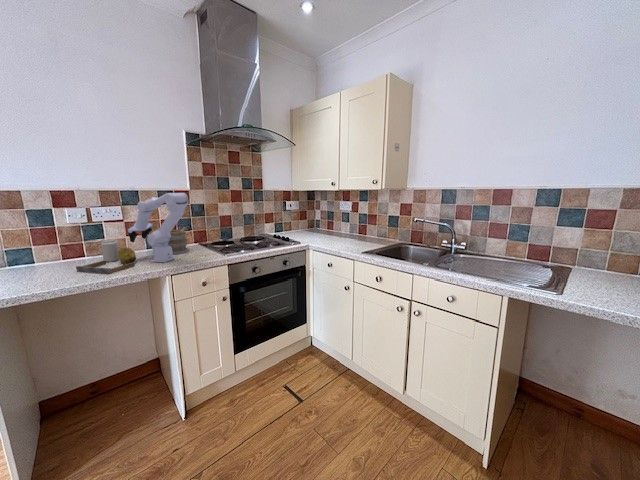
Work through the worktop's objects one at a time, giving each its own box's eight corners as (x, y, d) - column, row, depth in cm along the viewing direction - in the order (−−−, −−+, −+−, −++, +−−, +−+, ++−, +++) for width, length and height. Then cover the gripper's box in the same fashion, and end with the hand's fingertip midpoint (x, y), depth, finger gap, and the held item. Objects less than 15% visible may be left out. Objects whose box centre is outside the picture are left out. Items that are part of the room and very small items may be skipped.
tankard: (179, 255, 163) (177, 231, 160) (161, 254, 164) (158, 230, 162) (198, 248, 182) (196, 226, 179) (181, 247, 184) (179, 226, 181)
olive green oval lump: (117, 266, 140) (115, 251, 138) (119, 261, 150) (117, 247, 149) (136, 264, 144) (134, 249, 143) (137, 259, 155) (135, 245, 153)
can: (111, 262, 147) (107, 241, 145) (100, 262, 149) (96, 241, 146) (123, 259, 154) (120, 239, 152) (112, 258, 156) (109, 238, 154)
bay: (134, 266, 140) (134, 261, 140) (109, 274, 127) (108, 269, 127) (104, 264, 145) (103, 259, 144) (76, 271, 132) (75, 266, 131)
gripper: (147, 214, 158) (142, 233, 163) (125, 219, 145) (120, 239, 150) (157, 220, 158) (152, 239, 163) (135, 225, 144) (130, 245, 149)
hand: (137, 239), depth 156 cm, fingers open, 7 cm apart
